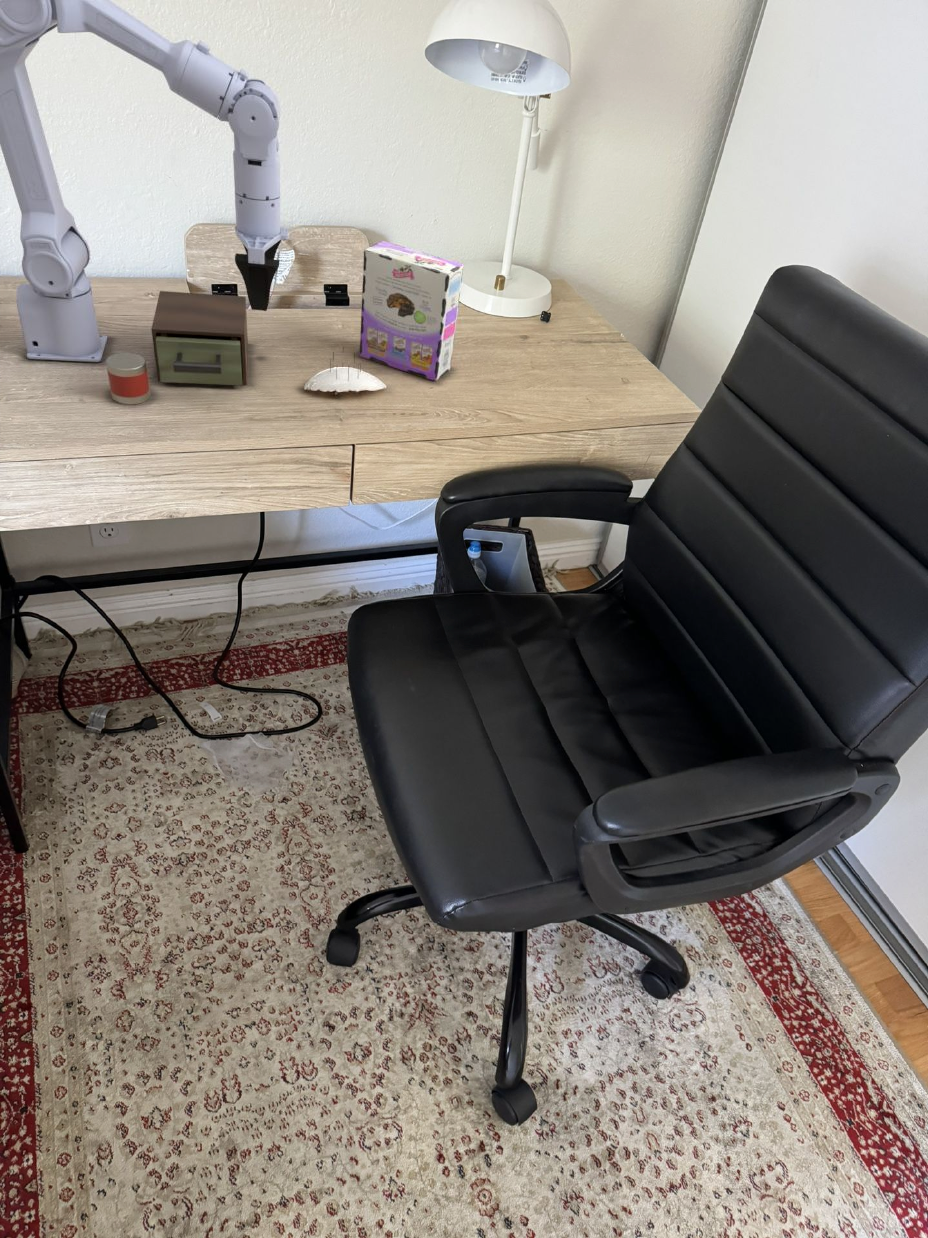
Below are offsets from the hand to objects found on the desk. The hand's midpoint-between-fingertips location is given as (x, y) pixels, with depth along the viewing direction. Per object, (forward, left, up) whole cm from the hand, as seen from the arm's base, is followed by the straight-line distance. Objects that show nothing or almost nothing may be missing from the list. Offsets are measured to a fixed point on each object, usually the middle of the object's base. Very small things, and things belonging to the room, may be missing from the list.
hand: (260, 298), depth 113 cm
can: (-17, -11, -10) cm, 23 cm away
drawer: (-8, -4, -9) cm, 13 cm away
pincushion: (+12, -7, -10) cm, 17 cm away
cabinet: (-8, 0, -10) cm, 13 cm away
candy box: (+22, +3, -10) cm, 24 cm away
